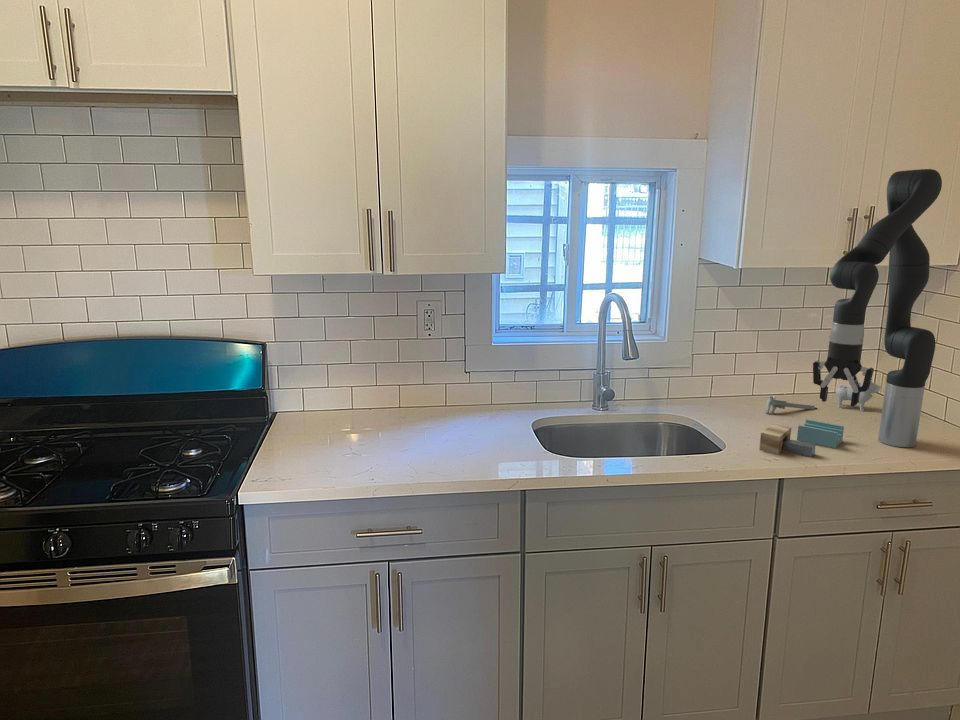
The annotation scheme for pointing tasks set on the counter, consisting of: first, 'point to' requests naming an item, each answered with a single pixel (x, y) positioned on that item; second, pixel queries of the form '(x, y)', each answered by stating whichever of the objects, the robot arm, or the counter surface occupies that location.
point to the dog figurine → (846, 394)
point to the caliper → (784, 405)
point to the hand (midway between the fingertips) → (838, 403)
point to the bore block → (774, 438)
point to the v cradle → (820, 433)
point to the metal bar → (798, 447)
